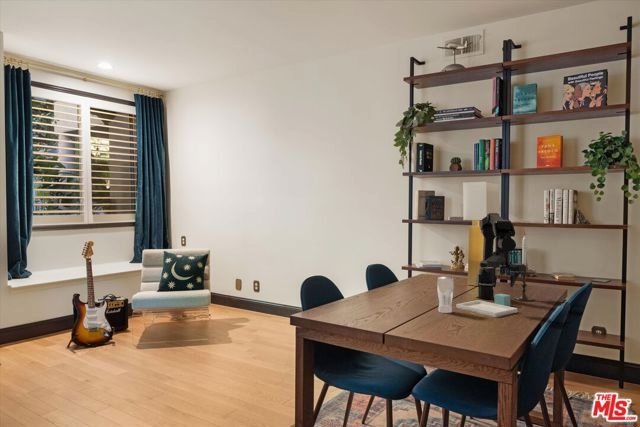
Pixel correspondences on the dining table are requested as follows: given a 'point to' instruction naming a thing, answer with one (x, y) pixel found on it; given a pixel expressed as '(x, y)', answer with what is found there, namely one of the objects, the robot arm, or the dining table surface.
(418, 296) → the dining table surface
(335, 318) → the dining table surface
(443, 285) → the beer glass
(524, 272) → the candlestick
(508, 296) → the block
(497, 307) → the tray
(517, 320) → the dining table surface
